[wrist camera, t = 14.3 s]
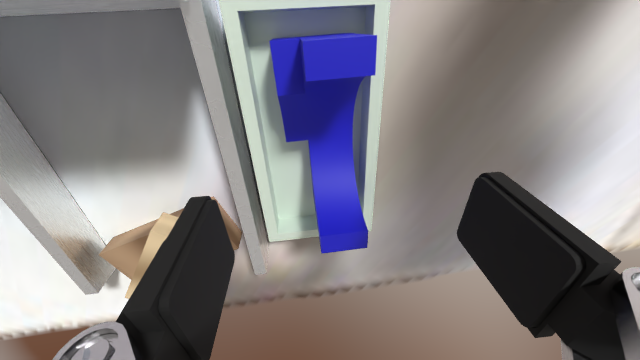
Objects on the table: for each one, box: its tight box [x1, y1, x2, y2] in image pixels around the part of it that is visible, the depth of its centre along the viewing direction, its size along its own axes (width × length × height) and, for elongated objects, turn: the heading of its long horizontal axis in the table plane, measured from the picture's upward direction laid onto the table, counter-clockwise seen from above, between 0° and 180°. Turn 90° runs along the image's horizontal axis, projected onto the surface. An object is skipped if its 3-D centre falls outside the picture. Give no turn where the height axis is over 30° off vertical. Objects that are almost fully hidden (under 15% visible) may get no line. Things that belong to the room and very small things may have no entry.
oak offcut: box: [125, 212, 179, 299], centre depth 20 cm, size 8×4×2 cm, turn 148°
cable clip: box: [269, 33, 377, 253], centre depth 16 cm, size 12×4×6 cm, turn 4°
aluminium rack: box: [0, 0, 269, 295], centre depth 14 cm, size 15×21×10 cm
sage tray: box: [219, 0, 391, 242], centre depth 18 cm, size 9×17×2 cm, turn 3°
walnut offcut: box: [99, 196, 242, 280], centre depth 22 cm, size 10×4×2 cm, turn 112°
